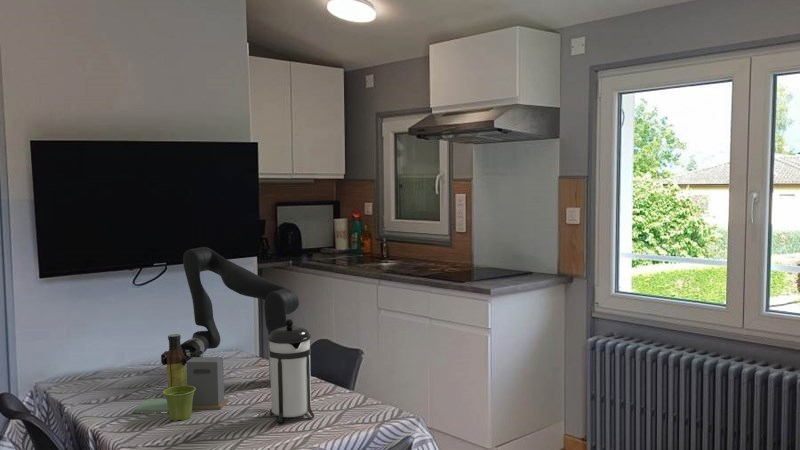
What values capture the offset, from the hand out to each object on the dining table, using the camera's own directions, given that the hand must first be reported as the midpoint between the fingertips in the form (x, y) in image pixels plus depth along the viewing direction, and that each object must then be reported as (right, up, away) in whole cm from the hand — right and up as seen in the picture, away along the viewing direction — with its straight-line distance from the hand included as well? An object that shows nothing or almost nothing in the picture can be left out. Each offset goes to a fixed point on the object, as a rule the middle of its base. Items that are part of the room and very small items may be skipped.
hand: (173, 362), depth 229 cm
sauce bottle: (0, -11, +3) cm, 11 cm away
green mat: (0, -12, -13) cm, 18 cm away
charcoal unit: (+15, -12, -12) cm, 22 cm away
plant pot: (+10, -13, -23) cm, 28 cm away
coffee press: (+43, -12, -22) cm, 50 cm away
